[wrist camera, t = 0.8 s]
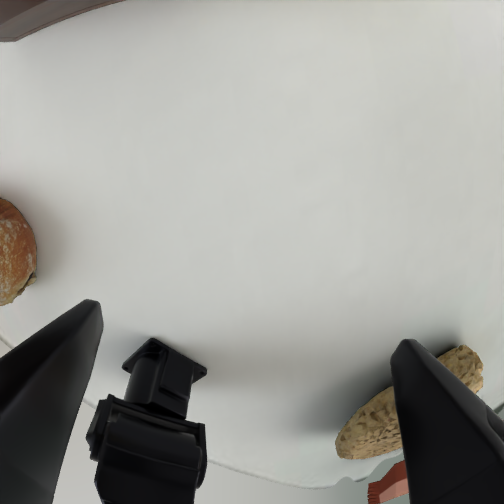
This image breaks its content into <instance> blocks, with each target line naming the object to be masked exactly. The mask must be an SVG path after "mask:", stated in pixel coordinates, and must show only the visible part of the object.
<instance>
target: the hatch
mask: <svg viewBox="0 0 504 504" xmlns="http://www.w3.org/2000/svg"><path fill="white" fill-rule="evenodd" d="M58 1H61V0H0V30H2V29H3V28H5V27H7V26H9V25H11V24H12V23H14V22H16V21H18V20H20V19H22V18H24V17H26V16H28V15H30V14H32V13H34V12H36V11H38V10H40V9H42V8H45V7H47V6H49V5H51V4H54V3H56V2H58Z"/></svg>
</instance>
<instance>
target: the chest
mask: <svg viewBox="0 0 504 504" xmlns="http://www.w3.org/2000/svg"><path fill="white" fill-rule="evenodd" d="M121 1H125V0H61V1H58V2H56V3H54V4H51V5H49V6H47V7H45V8H42V9H40V10H38V11H36V12H34V13H32V14H30V15H28V16H26V17H24V18H22V19H20V20H18V21H16V22H14V23H12V24H11V25H9V26H7V27H5V28H3V29H2V30H0V42H13V41H17V40H19V39H21V38H23V37H25V36H27V35H30V34H32V33H34V32H36V31H38V30H41V29H43V28H45V27H47V26H50V25H52V24H55V23H57V22H60V21H62V20H65V19H67V18H70V17H73V16H76V15H78V14H81V13H84V12H87V11H90V10H93V9H96V8H100V7H103V6H106V5H110V4H113V3H117V2H121Z"/></svg>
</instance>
